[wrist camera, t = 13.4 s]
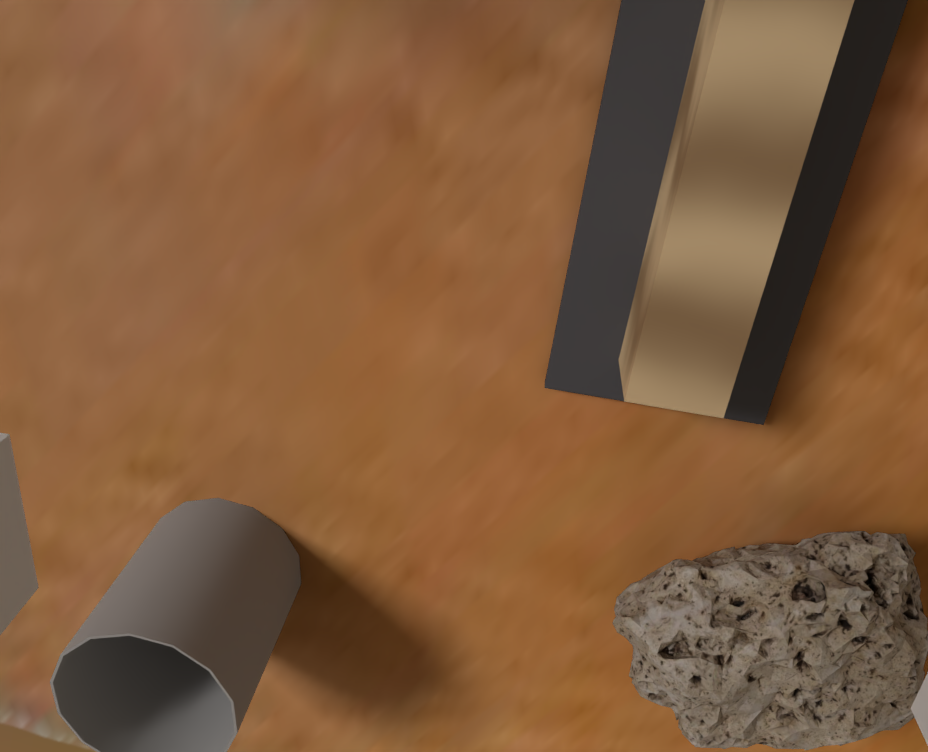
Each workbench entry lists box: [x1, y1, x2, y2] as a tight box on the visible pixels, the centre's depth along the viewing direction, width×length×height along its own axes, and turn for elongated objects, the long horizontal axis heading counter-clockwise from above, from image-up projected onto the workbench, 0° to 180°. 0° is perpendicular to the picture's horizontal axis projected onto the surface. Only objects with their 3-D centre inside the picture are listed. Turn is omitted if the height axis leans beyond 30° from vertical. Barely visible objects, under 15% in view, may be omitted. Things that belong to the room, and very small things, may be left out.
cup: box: [50, 498, 301, 752], centre depth 41 cm, size 8×8×10 cm
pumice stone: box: [613, 531, 928, 750], centre depth 39 cm, size 14×12×8 cm
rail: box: [619, 0, 854, 418], centre depth 31 cm, size 20×4×4 cm, turn 172°
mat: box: [545, 0, 908, 425], centre depth 33 cm, size 24×10×1 cm, turn 172°
